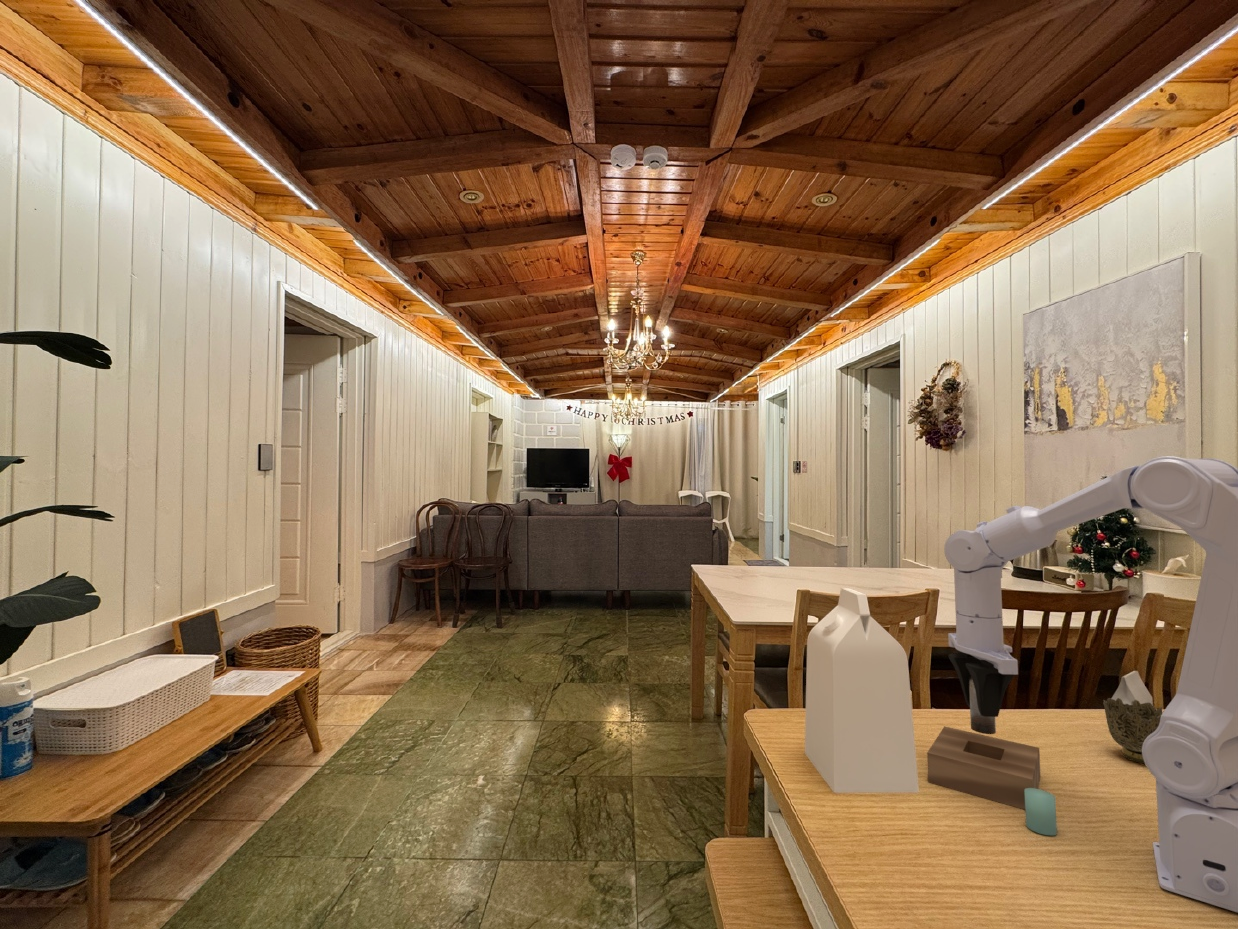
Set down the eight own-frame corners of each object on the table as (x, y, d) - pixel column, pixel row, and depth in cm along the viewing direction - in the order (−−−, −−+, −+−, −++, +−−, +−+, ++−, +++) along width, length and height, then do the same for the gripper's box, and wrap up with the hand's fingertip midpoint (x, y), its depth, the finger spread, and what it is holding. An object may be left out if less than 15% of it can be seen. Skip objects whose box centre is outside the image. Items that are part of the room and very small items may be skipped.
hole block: (1033, 812, 72) (1032, 779, 72) (928, 782, 80) (927, 752, 80) (1040, 776, 81) (1039, 747, 81) (945, 752, 89) (944, 726, 89)
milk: (919, 792, 77) (912, 598, 78) (834, 793, 77) (829, 598, 78) (878, 753, 89) (873, 585, 90) (804, 753, 89) (801, 585, 90)
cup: (1113, 764, 85) (1110, 709, 85) (1099, 745, 91) (1097, 694, 92) (1180, 775, 81) (1177, 718, 82) (1161, 755, 88) (1158, 702, 88)
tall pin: (1000, 734, 79) (998, 683, 80) (977, 733, 79) (975, 682, 80) (988, 726, 82) (986, 676, 83) (966, 725, 82) (964, 676, 83)
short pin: (1059, 838, 66) (1057, 801, 67) (1028, 831, 68) (1026, 795, 68) (1054, 826, 69) (1052, 791, 69) (1024, 820, 70) (1022, 786, 71)
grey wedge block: (1154, 733, 96) (1151, 673, 97) (1141, 743, 92) (1138, 680, 93) (1126, 726, 99) (1123, 668, 100) (1112, 735, 95) (1109, 674, 96)
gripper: (1040, 626, 74) (1045, 732, 73) (980, 605, 89) (984, 694, 88) (983, 625, 75) (987, 730, 74) (933, 604, 89) (936, 692, 88)
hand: (982, 711), depth 81 cm, fingers closed on tall pin, 3 cm apart
